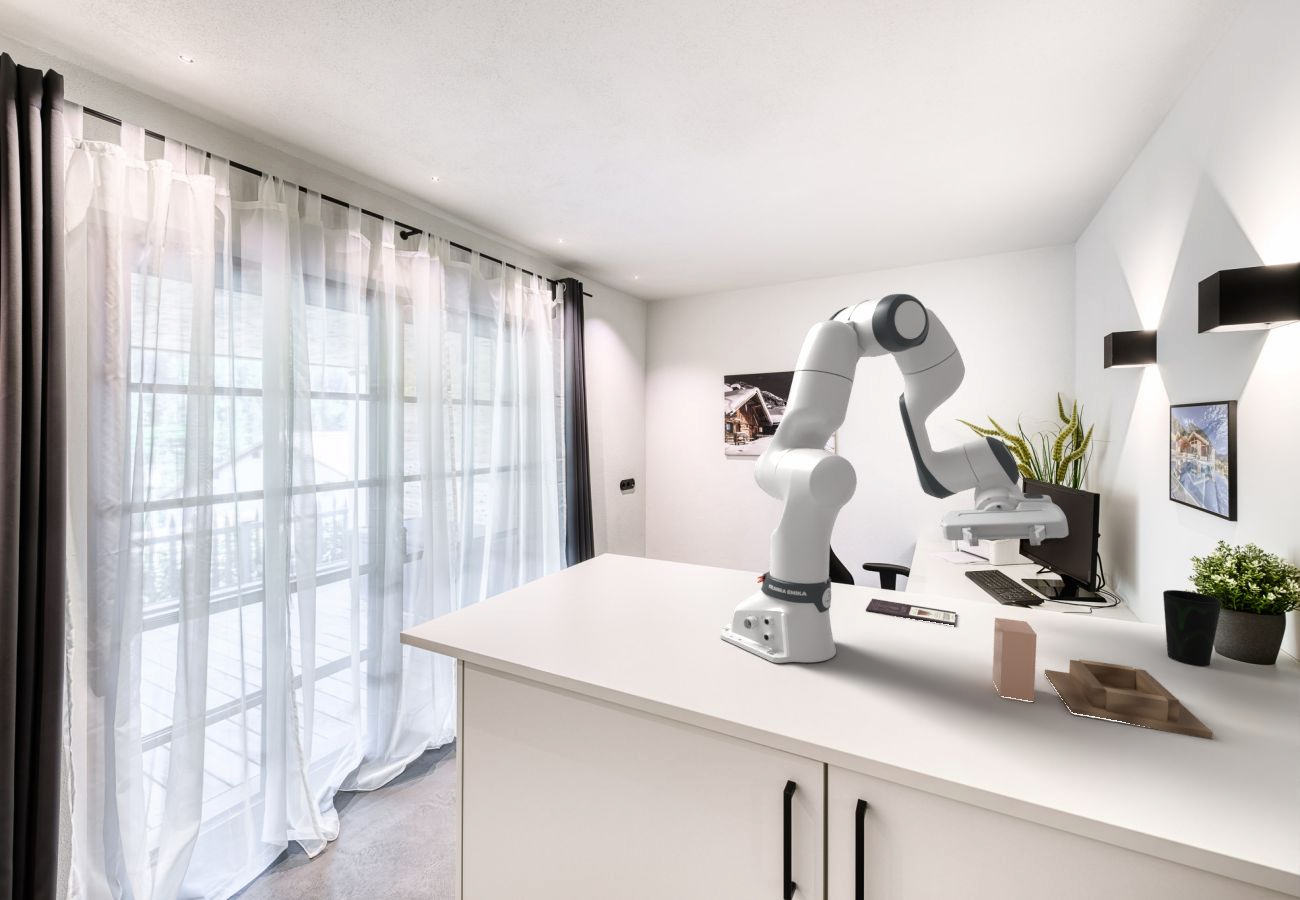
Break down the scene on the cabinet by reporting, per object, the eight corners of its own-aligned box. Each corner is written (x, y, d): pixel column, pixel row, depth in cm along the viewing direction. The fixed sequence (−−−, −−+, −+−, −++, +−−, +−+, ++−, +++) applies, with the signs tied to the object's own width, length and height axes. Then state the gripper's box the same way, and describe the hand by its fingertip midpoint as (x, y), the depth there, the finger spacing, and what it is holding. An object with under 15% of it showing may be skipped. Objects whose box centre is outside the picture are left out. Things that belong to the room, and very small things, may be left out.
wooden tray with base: (1071, 714, 81) (1073, 689, 81) (1044, 675, 94) (1045, 652, 94) (1212, 739, 75) (1213, 711, 75) (1162, 692, 88) (1163, 668, 88)
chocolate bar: (872, 598, 134) (955, 612, 124) (872, 602, 134) (955, 616, 124) (865, 609, 126) (954, 624, 117) (865, 613, 126) (954, 628, 117)
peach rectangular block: (1000, 697, 86) (1002, 630, 86) (992, 681, 92) (994, 617, 91) (1033, 703, 85) (1036, 634, 84) (1023, 686, 90) (1026, 621, 90)
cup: (1201, 654, 103) (1205, 592, 102) (1228, 671, 96) (1232, 605, 95) (1151, 648, 106) (1154, 588, 105) (1174, 665, 98) (1177, 600, 98)
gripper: (940, 501, 115) (937, 528, 103) (1059, 494, 104) (1071, 523, 93) (944, 528, 116) (942, 558, 105) (1063, 524, 105) (1074, 557, 94)
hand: (1003, 542), depth 99 cm, fingers open, 8 cm apart
